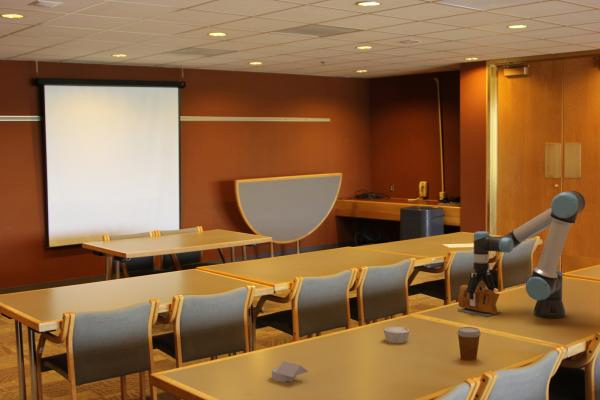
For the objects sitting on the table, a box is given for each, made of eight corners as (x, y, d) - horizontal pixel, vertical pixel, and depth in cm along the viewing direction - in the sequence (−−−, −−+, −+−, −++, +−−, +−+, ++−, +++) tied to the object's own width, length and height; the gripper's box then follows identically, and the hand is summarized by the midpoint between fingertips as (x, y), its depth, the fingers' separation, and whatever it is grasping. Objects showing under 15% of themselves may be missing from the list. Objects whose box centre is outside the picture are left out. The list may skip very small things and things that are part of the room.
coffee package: (471, 284, 407) (505, 291, 390) (468, 307, 407) (502, 315, 390) (459, 283, 401) (493, 290, 384) (456, 307, 401) (490, 315, 384)
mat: (500, 313, 393) (500, 312, 393) (486, 316, 385) (486, 315, 385) (471, 307, 406) (471, 306, 406) (457, 311, 398) (457, 310, 398)
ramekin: (412, 343, 337) (412, 332, 337) (387, 345, 336) (387, 333, 335) (404, 337, 349) (404, 325, 348) (380, 338, 347) (380, 327, 346)
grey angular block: (308, 380, 289) (283, 373, 298) (308, 362, 289) (283, 356, 297) (292, 386, 282) (267, 379, 291) (292, 368, 282) (266, 361, 291)
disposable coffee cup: (453, 355, 319) (454, 326, 318) (476, 354, 319) (476, 326, 318) (460, 362, 309) (460, 332, 308) (483, 361, 310) (484, 332, 309)
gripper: (490, 258, 403) (490, 299, 404) (459, 263, 388) (459, 306, 390) (502, 260, 397) (501, 301, 399) (471, 265, 382) (470, 308, 384)
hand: (480, 304), depth 394 cm, fingers open, 12 cm apart
